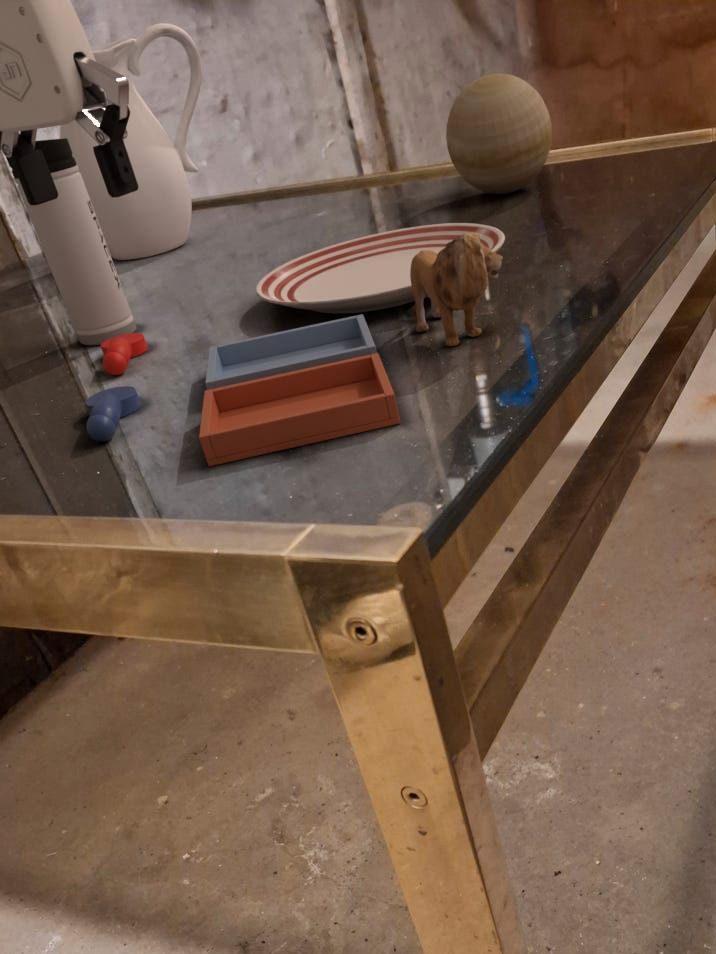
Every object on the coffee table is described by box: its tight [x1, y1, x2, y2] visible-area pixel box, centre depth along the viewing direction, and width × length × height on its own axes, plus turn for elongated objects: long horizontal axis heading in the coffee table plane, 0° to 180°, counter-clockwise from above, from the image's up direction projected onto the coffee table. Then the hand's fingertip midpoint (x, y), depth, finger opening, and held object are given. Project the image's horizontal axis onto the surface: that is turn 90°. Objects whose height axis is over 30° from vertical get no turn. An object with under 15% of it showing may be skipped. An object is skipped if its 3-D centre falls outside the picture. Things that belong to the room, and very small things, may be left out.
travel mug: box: [0, 138, 138, 347], centre depth 96 cm, size 6×7×20 cm
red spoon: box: [100, 332, 149, 376], centre depth 92 cm, size 10×4×2 cm, turn 12°
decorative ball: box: [445, 72, 553, 195], centre depth 130 cm, size 15×15×15 cm
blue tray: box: [204, 314, 378, 390], centre depth 81 cm, size 14×10×2 cm
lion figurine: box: [406, 233, 504, 347], centre depth 82 cm, size 15×5×9 cm, turn 35°
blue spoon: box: [84, 385, 142, 443], centre depth 78 cm, size 10×4×2 cm, turn 12°
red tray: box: [198, 352, 401, 467], centre depth 71 cm, size 14×10×2 cm
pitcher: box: [59, 22, 203, 261], centre depth 133 cm, size 24×17×28 cm
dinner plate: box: [255, 222, 506, 314], centre depth 100 cm, size 28×27×3 cm
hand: (84, 198), depth 82 cm, fingers open, 9 cm apart
